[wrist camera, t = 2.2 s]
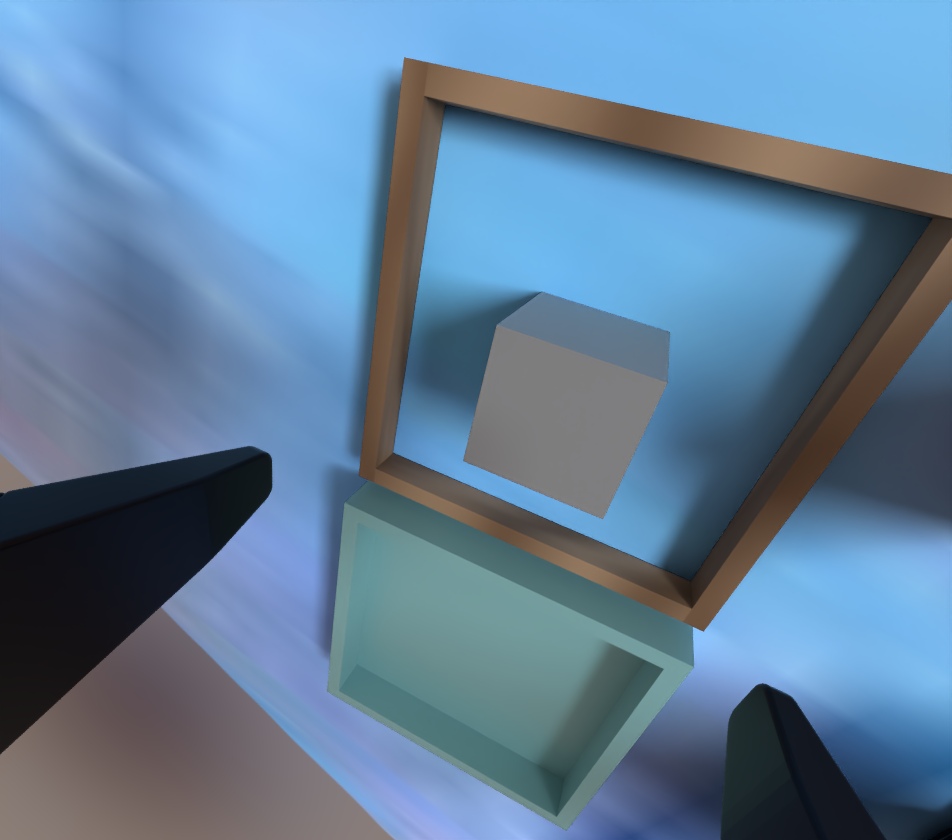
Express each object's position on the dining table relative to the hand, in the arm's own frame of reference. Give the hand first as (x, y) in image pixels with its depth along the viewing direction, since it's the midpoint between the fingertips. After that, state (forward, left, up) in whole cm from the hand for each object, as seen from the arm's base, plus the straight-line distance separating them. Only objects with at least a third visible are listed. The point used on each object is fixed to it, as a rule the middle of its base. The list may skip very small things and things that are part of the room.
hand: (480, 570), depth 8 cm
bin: (0, +16, -11) cm, 20 cm away
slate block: (0, 0, -11) cm, 11 cm away
